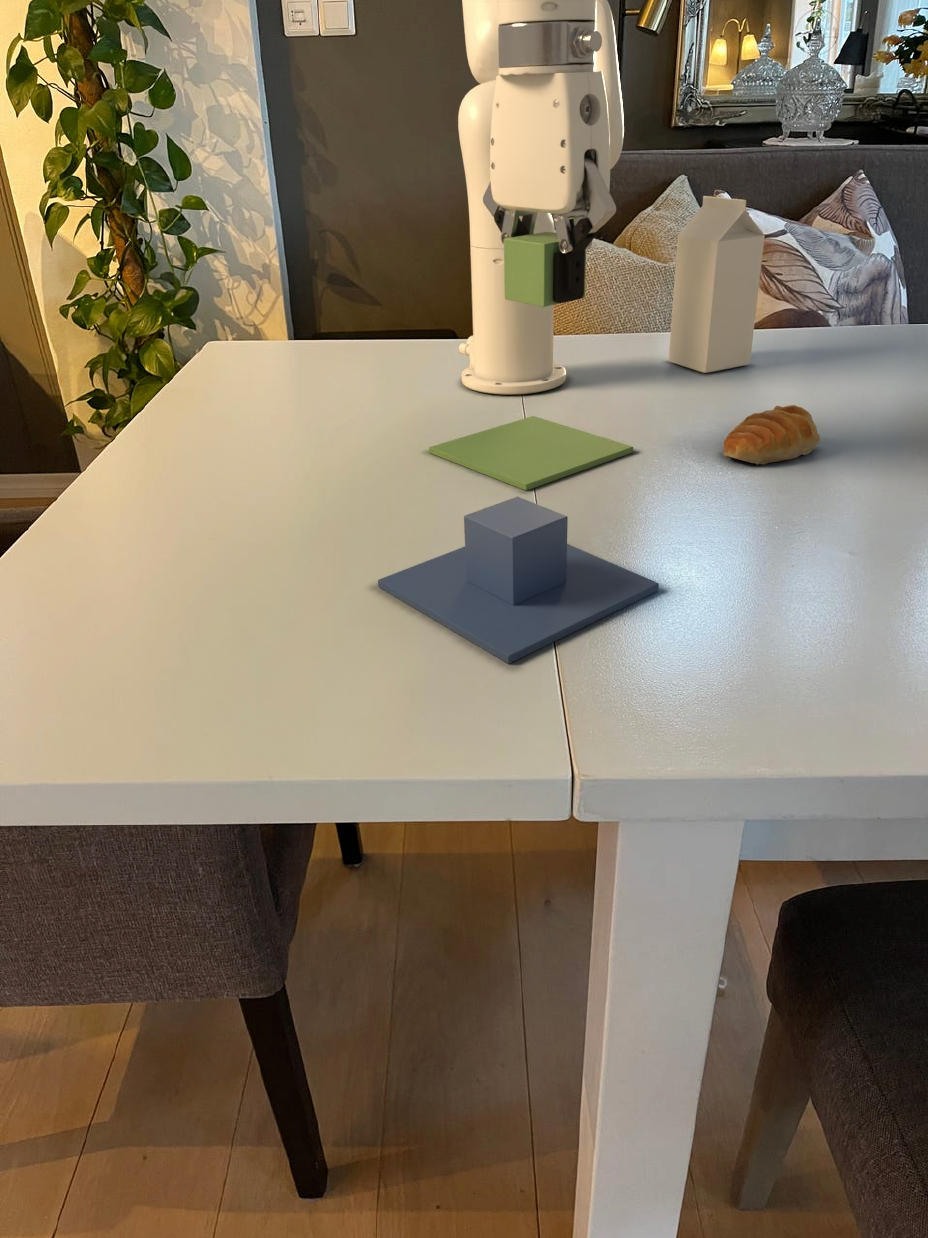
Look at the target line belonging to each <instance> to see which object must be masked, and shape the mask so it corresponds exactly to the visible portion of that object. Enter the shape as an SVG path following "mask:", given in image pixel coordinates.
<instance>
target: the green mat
mask: <svg viewBox="0 0 928 1238" xmlns="http://www.w3.org/2000/svg"><path fill="white" fill-rule="evenodd" d="M428 453H429V454H431V455H434V456H437V457H439V458H441V459H443V460H446V461H450V462H452V463H455V464H457V465H459V466H462V467H465V468H467V469H470V470H472V471H475V472H478V473H480V474H483V475H486V476H487V477H490V478H493V479H495V480H498V481H500V482H503V483H506V484H508V485H511V486H513V487H516V488H518V489H521V490H523V491H526V492H527V491H530V490H532V489H535V488H538V487H540V486H542V485H546V484H549V483H552V482H554V481H558V480H560V479H562V478H565V477H569V476H571V475H574V474H576V473H580V472H582V471H584V470H588V469H590V468H593V467H596V466H599V465H602V464H605V463H608V462H610V461H612V460H615V459H618V458H620V457H624V456H627V455H630V454H632V453H634V446H632V445H629V444H626V443H623V442H619V441H616V440H613V439H610V438H607V437H603V436H600V435H596V434H594V433H590V432H587V431H584V430H580V429H577V428H574V427H570V426H567V425H564V424H562V423H558V422H554V421H551V420H548V419H544V418H542V417H538V416H535V415H532V416H528V417H525V418H522V419H518V420H515V421H511V422H508V423H505V424H501V425H498V426H494V427H492V428H487V429H485V430H482V431H479V432H475V433H472V434H469V435H465V436H461V437H458V438H454V439H452V440H449V441H445V442H442V443H438V444H436V445H431V446H429V447H428Z"/></svg>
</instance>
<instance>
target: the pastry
mask: <svg viewBox="0 0 928 1238" xmlns="http://www.w3.org/2000/svg"><path fill="white" fill-rule="evenodd" d="M820 442H821V435H820V433H819V432H818V427H817V425H816V424H815V422H814V420H813V417H812V414H811V413H810V412H809V411H808V410H806V409H805V408H804V407H801V406H798V405H795V404H790V405H785V406H780V405H776V406H775V407H773V408H772V409H770V410H764V411H762V412H755V413H751V414H750V415H748V416H746V417H745V418H744V420H742V421H741V422H740V423H738V425H736V426H735V427H734V428H733V429H732V430H731V431H730V432H729V433H728V435H727V436H726V438H725V439H724V440H723V457H730V458H733V459H735V460H740V461H744V462H746V463H750V464H756V466H758V465H767V464H768V463H781V462H783V461H789V460H793V459H796V458H799V457H800V456H802V455H803V456H806V455H809V454H810V453H811V452H812V451H813V450H814V449H815V448H816V447H817V446H818V445H819V443H820Z"/></svg>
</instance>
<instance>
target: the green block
mask: <svg viewBox="0 0 928 1238" xmlns="http://www.w3.org/2000/svg"><path fill="white" fill-rule="evenodd" d="M557 252H560V250H559V246H558V240H557V234H556V232H555V233H552V232H541V233H535V234H529V235H523V236H517V237H511V238H505V239H504V285H505V299H506V300H511V301H516V302H522V303H527V304H532V305H537V306H542V307H546V306H550V305H554V306H555V305H559V304H560V303H555V302H554V300H553V261H554V253H557ZM586 273H587V250H585V275H584V296H583V298H582V299H584V298H586Z"/></svg>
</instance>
